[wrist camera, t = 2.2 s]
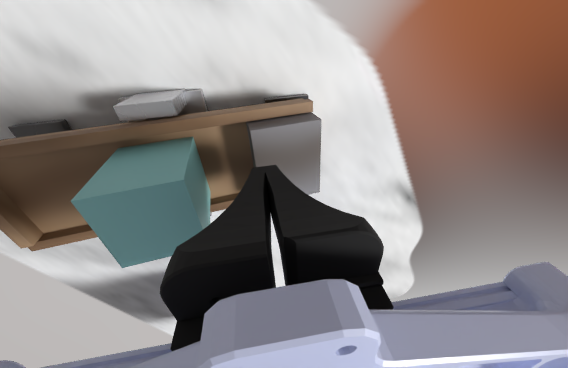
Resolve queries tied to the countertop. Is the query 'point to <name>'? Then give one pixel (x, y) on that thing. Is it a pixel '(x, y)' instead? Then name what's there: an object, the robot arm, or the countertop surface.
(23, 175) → the beam
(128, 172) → the block
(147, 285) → the countertop surface
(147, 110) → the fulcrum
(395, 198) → the countertop surface
